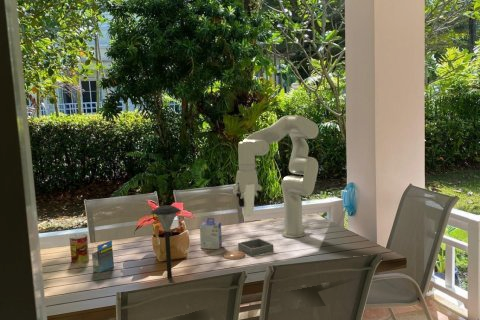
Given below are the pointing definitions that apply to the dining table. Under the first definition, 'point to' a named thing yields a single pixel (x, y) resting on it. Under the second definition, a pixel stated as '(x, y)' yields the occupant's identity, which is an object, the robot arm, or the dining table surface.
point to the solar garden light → (166, 229)
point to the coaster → (234, 255)
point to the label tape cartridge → (103, 257)
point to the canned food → (79, 248)
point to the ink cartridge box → (210, 234)
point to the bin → (247, 245)
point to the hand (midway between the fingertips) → (247, 205)
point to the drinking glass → (248, 200)
